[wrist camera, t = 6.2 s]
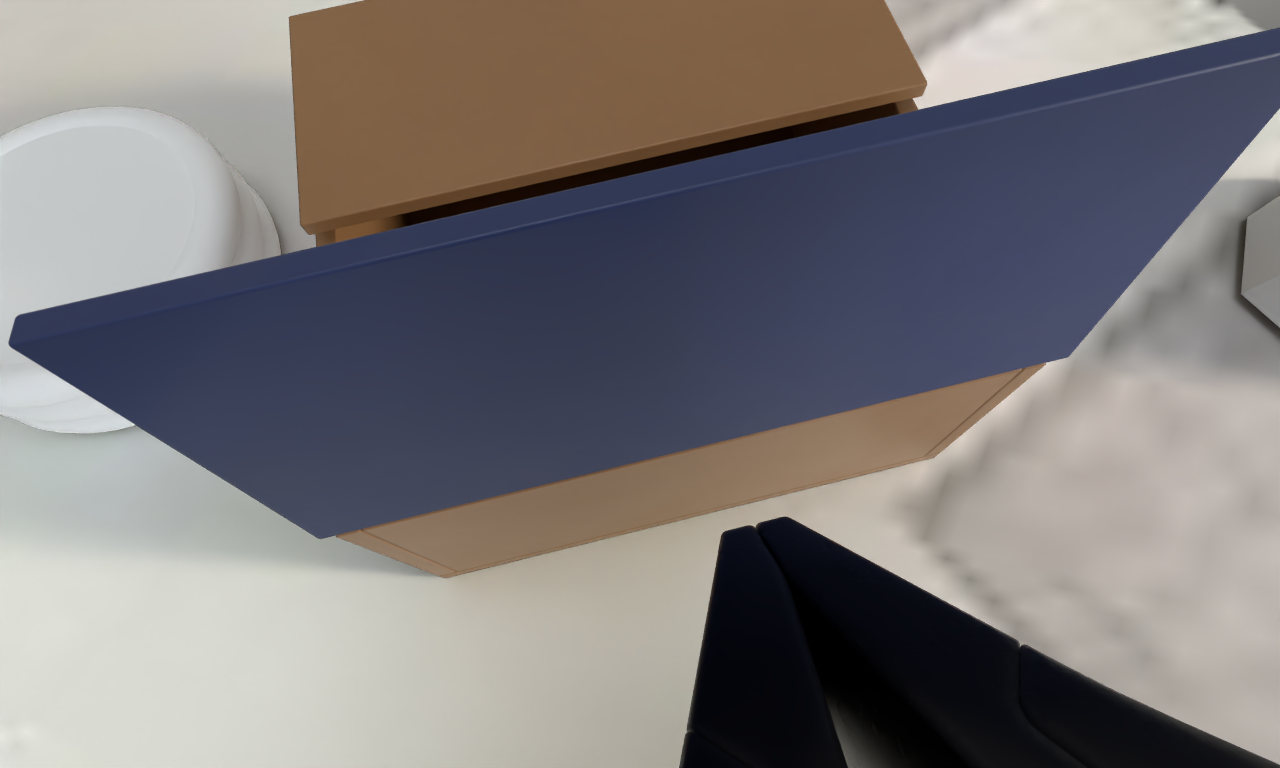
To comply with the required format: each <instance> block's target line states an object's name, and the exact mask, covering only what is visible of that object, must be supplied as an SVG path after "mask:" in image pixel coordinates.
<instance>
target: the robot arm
mask: <svg viewBox="0 0 1280 768" xmlns="http://www.w3.org/2000/svg"><path fill="white" fill-rule="evenodd" d="M679 768H1280V765H1279V764H1276V763H1274V762H1272V761H1270V760H1267V759H1265V758H1263V757H1261V756H1258V755H1256V754H1254V753H1252V752H1249V751H1247V750H1245V749H1242V748H1240V747H1238V746H1236V745H1233V744H1231V743H1229V742H1227V741H1224V740H1222V739H1220V738H1218V737H1215V736H1213V735H1211V734H1209V733H1206V732H1204V731H1202V730H1199V729H1197V728H1195V727H1193V726H1190V725H1188V724H1186V723H1184V722H1181V721H1179V720H1177V719H1175V718H1173V717H1171V716H1168V715H1166V714H1164V713H1162V712H1160V711H1158V710H1155V709H1153V708H1151V707H1149V706H1147V705H1145V704H1142V703H1140V702H1138V701H1136V700H1134V699H1132V698H1129V697H1127V696H1125V695H1123V694H1121V693H1119V692H1116V691H1114V690H1112V689H1110V688H1108V687H1106V686H1104V685H1103V684H1101V683H1099V682H1097V681H1095V680H1093V679H1091V678H1089V677H1087V676H1085V675H1083V674H1081V673H1079V672H1077V671H1075V670H1073V669H1071V668H1069V667H1067V666H1065V665H1063V664H1061V663H1059V662H1058V661H1056V660H1054V659H1052V658H1050V657H1048V656H1046V655H1044V654H1043V653H1041V652H1039V651H1037V650H1035V649H1033V648H1031V647H1030V646H1028V645H1021V646H1020V644H1019V642H1018V640H1016V639H1014V638H1012V637H1010V636H1009V635H1007V634H1005V633H1003V632H1001V631H999V630H997V629H996V628H994V627H992V626H990V625H988V624H986V623H984V622H983V621H981V620H979V619H977V618H975V617H973V616H971V615H970V614H968V613H966V612H964V611H962V610H960V609H958V608H957V607H955V606H953V605H951V604H949V603H947V602H945V601H944V600H942V599H940V598H938V597H936V596H934V595H932V594H931V593H929V592H927V591H925V590H923V589H921V588H919V587H917V586H916V585H914V584H912V583H910V582H908V581H906V580H904V579H903V578H901V577H899V576H897V575H895V574H893V573H891V572H890V571H888V570H886V569H884V568H882V567H880V566H878V565H877V564H875V563H873V562H871V561H869V560H867V559H865V558H864V557H862V556H860V555H858V554H856V553H854V552H852V551H851V550H849V549H847V548H845V547H843V546H841V545H839V544H838V543H836V542H834V541H832V540H830V539H828V538H826V537H825V536H823V535H821V534H819V533H817V532H815V531H813V530H812V529H810V528H808V527H806V526H804V525H802V524H800V523H799V522H797V521H795V520H793V519H791V518H789V517H780V518H776V519H772V520H768V521H764V522H760V523H758V524H757V525H756V528H755V527H754V526H744V527H740V528H736V529H732V530H728V531H725V532H723V534H722V536H721V540H720V545H719V551H718V556H717V562H716V568H715V573H714V579H713V584H712V590H711V596H710V601H709V607H708V612H707V618H706V623H705V629H704V635H703V640H702V646H701V651H700V657H699V663H698V668H697V674H696V679H695V685H694V690H693V696H692V702H691V707H690V713H689V718H688V724H687V733H686V734H685V738H684V744H683V749H682V755H681V761H680V766H679Z"/></svg>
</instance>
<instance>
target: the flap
mask: <svg viewBox="0 0 1280 768" xmlns="http://www.w3.org/2000/svg"><path fill="white" fill-rule="evenodd" d="M1279 109H1280V28H1276V29H1271V30H1267V31H1262V32H1258V33H1254V34H1249V35H1245V36H1240V37H1236V38H1232V39H1227V40H1223V41H1219V42H1214V43H1210V44H1205V45H1201V46H1197V47H1192V48H1188V49H1183V50H1179V51H1175V52H1170V53H1166V54H1161V55H1157V56H1153V57H1148V58H1144V59H1139V60H1135V61H1131V62H1126V63H1122V64H1117V65H1113V66H1109V67H1104V68H1100V69H1096V70H1091V71H1087V72H1082V73H1078V74H1074V75H1069V76H1065V77H1060V78H1056V79H1052V80H1047V81H1043V82H1038V83H1034V84H1030V85H1025V86H1021V87H1016V88H1012V89H1008V90H1003V91H999V92H995V93H990V94H986V95H981V96H977V97H973V98H968V99H964V100H959V101H955V102H951V103H946V104H942V105H937V106H933V107H929V108H924V109H920V110H915V111H911V112H907V113H902V114H898V115H893V116H889V117H885V118H880V119H876V120H872V121H867V122H863V123H858V124H854V125H850V126H845V127H841V128H836V129H832V130H828V131H823V132H819V133H814V134H810V135H806V136H801V137H797V138H792V139H788V140H784V141H779V142H775V143H771V144H766V145H762V146H757V147H753V148H749V149H744V150H740V151H735V152H731V153H727V154H722V155H718V156H713V157H709V158H705V159H700V160H696V161H691V162H687V163H683V164H678V165H674V166H670V167H665V168H661V169H656V170H652V171H648V172H643V173H639V174H634V175H630V176H626V177H621V178H617V179H612V180H608V181H604V182H599V183H595V184H590V185H586V186H582V187H577V188H573V189H568V190H564V191H560V192H555V193H551V194H547V195H542V196H538V197H533V198H529V199H525V200H520V201H516V202H511V203H507V204H503V205H498V206H494V207H489V208H485V209H481V210H476V211H472V212H467V213H463V214H459V215H454V216H450V217H446V218H441V219H437V220H432V221H428V222H424V223H419V224H415V225H410V226H406V227H402V228H397V229H393V230H388V231H384V232H380V233H375V234H371V235H366V236H362V237H358V238H353V239H349V240H344V241H340V242H336V243H331V244H327V245H323V246H318V247H314V248H309V249H305V250H301V251H296V252H292V253H287V254H283V255H279V256H274V257H270V258H265V259H261V260H257V261H252V262H248V263H243V264H239V265H235V266H230V267H226V268H222V269H217V270H213V271H208V272H204V273H200V274H195V275H191V276H186V277H182V278H178V279H173V280H169V281H164V282H160V283H156V284H151V285H147V286H142V287H138V288H134V289H129V290H125V291H120V292H116V293H112V294H107V295H103V296H99V297H94V298H90V299H85V300H81V301H77V302H72V303H68V304H63V305H59V306H55V307H50V308H46V309H41V310H37V311H33V312H28V313H24V314H19V315H18V316H17V317H16V318H15V320H14V324H13V327H12V331H11V334H10V338H9V341H8V344H9V346H10V347H11V348H12V349H14V350H16V351H17V352H19V353H20V354H22V355H24V356H25V357H27V358H29V359H30V360H32V361H33V362H35V363H37V364H38V365H40V366H41V367H43V368H45V369H46V370H48V371H49V372H51V373H53V374H54V375H56V376H58V377H59V378H61V379H62V380H64V381H66V382H67V383H69V384H70V385H72V386H74V387H75V388H77V389H78V390H80V391H82V392H83V393H85V394H86V395H88V396H90V397H91V398H93V399H95V400H96V401H98V402H99V403H101V404H103V405H104V406H106V407H107V408H109V409H111V410H112V411H114V412H115V413H117V414H119V415H120V416H122V417H124V418H125V419H127V420H128V421H130V422H132V423H133V424H135V425H136V426H138V427H140V428H141V429H143V430H144V431H146V432H148V433H149V434H151V435H152V436H154V437H156V438H157V439H159V440H161V441H162V442H164V443H165V444H167V445H169V446H170V447H172V448H173V449H175V450H177V451H178V452H180V453H181V454H183V455H185V456H186V457H188V458H190V459H191V460H193V461H194V462H196V463H198V464H199V465H201V466H202V467H204V468H206V469H207V470H209V471H210V472H212V473H214V474H215V475H217V476H218V477H220V478H222V479H223V480H225V481H227V482H228V483H230V484H231V485H233V486H235V487H236V488H238V489H239V490H241V491H243V492H244V493H246V494H247V495H249V496H251V497H252V498H254V499H256V500H257V501H259V502H260V503H262V504H264V505H265V506H267V507H268V508H270V509H272V510H273V511H275V512H276V513H278V514H280V515H281V516H283V517H284V518H286V519H288V520H289V521H291V522H293V523H294V524H296V525H297V526H299V527H301V528H302V529H304V530H305V531H307V532H309V533H310V534H312V535H313V536H315V537H317V538H318V539H323V538H327V537H331V536H335V535H339V534H343V533H347V532H351V531H356V530H360V529H364V528H368V527H372V526H376V525H380V524H384V523H388V522H393V521H397V520H401V519H405V518H409V517H413V516H417V515H421V514H425V513H430V512H434V511H438V510H442V509H446V508H450V507H454V506H458V505H462V504H467V503H471V502H475V501H479V500H483V499H487V498H491V497H495V496H499V495H504V494H508V493H512V492H516V491H520V490H524V489H528V488H532V487H536V486H541V485H545V484H549V483H553V482H557V481H561V480H565V479H569V478H573V477H578V476H582V475H586V474H590V473H594V472H598V471H602V470H606V469H610V468H615V467H619V466H623V465H627V464H631V463H635V462H639V461H643V460H647V459H652V458H656V457H660V456H664V455H668V454H672V453H676V452H680V451H684V450H689V449H693V448H697V447H701V446H705V445H709V444H713V443H717V442H721V441H726V440H730V439H734V438H738V437H742V436H746V435H750V434H754V433H758V432H763V431H767V430H771V429H775V428H779V427H783V426H787V425H791V424H795V423H800V422H804V421H808V420H812V419H816V418H820V417H824V416H828V415H833V414H837V413H841V412H845V411H849V410H853V409H857V408H861V407H865V406H870V405H874V404H878V403H882V402H886V401H890V400H894V399H898V398H902V397H907V396H911V395H915V394H919V393H923V392H927V391H931V390H935V389H939V388H944V387H948V386H952V385H956V384H960V383H964V382H968V381H972V380H976V379H981V378H985V377H989V376H993V375H997V374H1001V373H1005V372H1009V371H1013V370H1018V369H1022V368H1026V367H1030V366H1034V365H1038V364H1042V363H1046V362H1050V361H1055V360H1059V359H1063V358H1067V357H1069V356H1070V355H1071V353H1072V352H1073V351H1074V350H1075V349H1076V348H1077V346H1078V345H1079V344H1080V343H1081V342H1082V340H1083V339H1084V338H1085V337H1086V336H1087V335H1088V333H1089V332H1090V331H1091V330H1092V329H1093V328H1094V326H1095V325H1096V324H1097V323H1098V322H1099V320H1100V319H1101V318H1102V317H1103V316H1104V315H1105V313H1106V312H1107V311H1108V310H1109V309H1110V308H1111V306H1112V305H1113V304H1114V303H1115V302H1116V300H1117V299H1118V298H1119V297H1120V296H1121V295H1122V293H1123V292H1124V291H1125V290H1126V289H1127V288H1128V286H1129V285H1130V284H1131V283H1132V282H1133V280H1134V279H1135V278H1136V277H1137V276H1138V275H1139V273H1140V272H1141V271H1142V270H1143V269H1144V267H1145V266H1146V265H1147V264H1148V263H1149V262H1150V260H1151V259H1152V258H1153V257H1154V256H1155V255H1156V253H1157V252H1158V251H1159V250H1160V249H1161V247H1162V246H1163V245H1164V244H1165V243H1166V242H1167V240H1168V239H1169V238H1170V237H1171V236H1172V235H1173V233H1174V232H1175V231H1176V230H1177V229H1178V227H1179V226H1180V225H1181V224H1182V223H1183V222H1184V220H1185V219H1186V218H1187V217H1188V216H1189V215H1190V213H1191V212H1192V211H1193V210H1194V209H1195V207H1196V206H1197V205H1198V204H1199V203H1200V202H1201V200H1202V199H1203V198H1204V197H1205V196H1206V194H1207V193H1208V192H1209V191H1210V190H1211V189H1212V187H1213V186H1214V185H1215V184H1216V183H1217V182H1218V180H1219V179H1220V178H1221V177H1222V176H1223V174H1224V173H1225V172H1226V171H1227V170H1228V169H1229V167H1230V166H1231V165H1232V164H1233V163H1234V162H1235V160H1236V159H1237V158H1238V157H1239V156H1240V154H1241V153H1242V152H1243V151H1244V150H1245V149H1246V147H1247V146H1248V145H1249V144H1250V143H1251V142H1252V140H1253V139H1254V138H1255V137H1256V136H1257V134H1258V133H1259V132H1260V131H1261V130H1262V129H1263V127H1264V126H1265V125H1266V124H1267V123H1268V121H1269V120H1270V119H1271V118H1272V117H1273V116H1274V114H1275V113H1276V112H1277V111H1278V110H1279Z"/></svg>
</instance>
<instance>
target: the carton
mask: <svg viewBox="0 0 1280 768" xmlns="http://www.w3.org/2000/svg"><path fill="white" fill-rule="evenodd" d="M289 30H290V48H291V66H292V84H293V102H294V120H295V139H296V157H297V175H298V193H299V211H300V225H301V227H302V228H303V229H304V230H305V231H306V232H307V234H309V235H312V234H316V247H318V246H323V245H327V244H331V243H336V242H340V241H344V240H349V239H353V238H358V237H362V236H366V235H371V234H375V233H380V232H384V231H388V230H393V229H397V228H402V227H406V226H410V225H415V224H419V223H424V222H428V221H432V220H437V219H441V218H446V217H450V216H454V215H459V214H463V213H467V212H472V211H476V210H481V209H485V208H489V207H494V206H498V205H503V204H507V203H511V202H516V201H520V200H525V199H529V198H533V197H538V196H542V195H547V194H551V193H555V192H560V191H564V190H568V189H573V188H577V187H582V186H586V185H590V184H595V183H599V182H604V181H608V180H612V179H617V178H621V177H626V176H630V175H634V174H639V173H643V172H648V171H652V170H656V169H661V168H665V167H670V166H674V165H678V164H683V163H687V162H691V161H696V160H700V159H705V158H709V157H713V156H718V155H722V154H727V153H731V152H735V151H740V150H744V149H749V148H753V147H757V146H762V145H766V144H771V143H775V142H779V141H784V140H788V139H792V138H797V137H801V136H806V135H810V134H814V133H819V132H823V131H828V130H832V129H836V128H841V127H845V126H850V125H854V124H858V123H863V122H867V121H872V120H876V119H880V118H885V117H889V116H893V115H898V114H902V113H907V112H911V111H915V110H918V108H917V106H916V104H915V102H914V100H913V98H916V97H920V96H922V95H923V93H924V91H925V88H926V86H927V81H926V79H925V77H924V75H923V73H922V71H921V69H920V67H919V66H918V64H917V62H916V60H915V58H914V56H913V54H912V52H911V50H910V48H909V46H908V45H907V43H906V41H905V39H904V37H903V35H902V33H901V31H900V29H899V27H898V25H897V24H896V22H895V20H894V18H893V16H892V14H891V12H890V10H889V8H888V6H887V4H886V3H885V1H884V0H364V1H359V2H355V3H350V4H345V5H341V6H336V7H331V8H327V9H322V10H317V11H313V12H308V13H303V14H299V15H294V16H290V17H289ZM1044 365H1046V363H1042V364H1038V365H1034V366H1030V367H1026V368H1022V369H1018V370H1013V371H1009V372H1005V373H1001V374H997V375H993V376H989V377H985V378H981V379H976V380H972V381H968V382H964V383H960V384H956V385H952V386H948V387H944V388H939V389H935V390H931V391H927V392H923V393H919V394H915V395H911V396H907V397H902V398H898V399H894V400H890V401H886V402H882V403H878V404H874V405H870V406H865V407H861V408H857V409H853V410H849V411H845V412H841V413H837V414H833V415H828V416H824V417H820V418H816V419H812V420H808V421H804V422H800V423H795V424H791V425H787V426H783V427H779V428H775V429H771V430H767V431H763V432H758V433H754V434H750V435H746V436H742V437H738V438H734V439H730V440H726V441H721V442H717V443H713V444H709V445H705V446H701V447H697V448H693V449H689V450H684V451H680V452H676V453H672V454H668V455H664V456H660V457H656V458H652V459H647V460H643V461H639V462H635V463H631V464H627V465H623V466H619V467H615V468H610V469H606V470H602V471H598V472H594V473H590V474H586V475H582V476H578V477H573V478H569V479H565V480H561V481H557V482H553V483H549V484H545V485H541V486H536V487H532V488H528V489H524V490H520V491H516V492H512V493H508V494H504V495H499V496H495V497H491V498H487V499H483V500H479V501H475V502H471V503H467V504H462V505H458V506H454V507H450V508H446V509H442V510H438V511H434V512H430V513H425V514H421V515H417V516H413V517H409V518H405V519H401V520H397V521H393V522H388V523H384V524H380V525H376V526H372V527H368V528H364V529H360V530H356V531H351V532H347V533H343V534H339V535H336V537H338V538H340V539H343V540H346V541H348V542H351V543H353V544H356V545H359V546H361V547H364V548H366V549H369V550H372V551H374V552H377V553H380V554H382V555H385V556H387V557H390V558H393V559H395V560H398V561H401V562H403V563H406V564H408V565H411V566H414V567H416V568H419V569H421V570H424V571H427V572H429V573H432V574H435V575H437V576H440V577H442V578H448V577H452V576H456V575H460V574H464V573H468V572H472V571H477V570H481V569H485V568H489V567H493V566H497V565H501V564H505V563H509V562H513V561H517V560H521V559H525V558H529V557H533V556H537V555H541V554H545V553H549V552H553V551H558V550H562V549H566V548H570V547H574V546H578V545H582V544H586V543H590V542H594V541H598V540H602V539H606V538H610V537H614V536H618V535H622V534H626V533H630V532H634V531H639V530H643V529H647V528H651V527H655V526H659V525H663V524H667V523H671V522H675V521H679V520H683V519H687V518H691V517H695V516H699V515H703V514H707V513H711V512H715V511H720V510H724V509H728V508H732V507H736V506H740V505H744V504H748V503H752V502H756V501H760V500H764V499H768V498H772V497H776V496H780V495H784V494H788V493H792V492H796V491H801V490H805V489H809V488H813V487H817V486H821V485H825V484H829V483H833V482H837V481H841V480H845V479H849V478H853V477H857V476H861V475H865V474H869V473H873V472H877V471H882V470H886V469H890V468H894V467H898V466H902V465H906V464H910V463H914V462H918V461H922V460H926V459H930V458H934V457H936V456H937V455H938V454H939V453H940V452H942V451H943V450H944V449H945V448H946V447H948V446H949V445H950V444H951V443H952V442H954V441H955V440H956V439H957V438H958V437H960V436H961V435H962V434H963V433H964V432H966V431H967V430H968V429H969V428H970V427H971V426H973V425H974V424H975V423H976V422H977V421H979V420H980V419H981V418H982V417H983V416H985V415H986V414H987V413H988V412H989V411H991V410H992V409H993V408H994V407H995V406H997V405H998V404H999V403H1000V402H1001V401H1003V400H1004V399H1005V398H1006V397H1007V396H1009V395H1010V394H1011V393H1012V392H1013V391H1015V390H1016V389H1017V388H1018V387H1019V386H1021V385H1022V384H1023V383H1024V382H1025V381H1026V380H1028V379H1029V378H1030V377H1031V376H1032V375H1034V374H1035V373H1036V372H1037V371H1038V370H1040V369H1041V368H1042V367H1043V366H1044Z"/></svg>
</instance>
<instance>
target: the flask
mask: <svg viewBox="0 0 1280 768" xmlns="http://www.w3.org/2000/svg"><path fill="white" fill-rule="evenodd" d="M1241 294H1242V295H1243V296H1244V297H1245V298H1246V299H1247V300H1249V301H1250V302H1251V303H1252V304H1253V305H1254V306H1255V307H1257V308H1258V309H1259V310H1260V311H1261V312H1262V313H1263V314H1265V315H1266V316H1267V317H1268V318H1269V319H1270V320H1271V321H1273V322H1274V323H1275V324H1276V325H1277V326H1278V327H1279V328H1280V195H1279V196H1278V197H1276V198H1275V199H1273V200H1272V201H1270V202H1269V203H1267V204H1266V205H1264V206H1263V207H1262V208H1260V209H1259V210H1257V211H1256V212H1254V213H1253V214H1251V215H1250V216H1248V217H1247V228H1246V241H1245V253H1244V265H1243V278H1242V290H1241Z"/></svg>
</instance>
